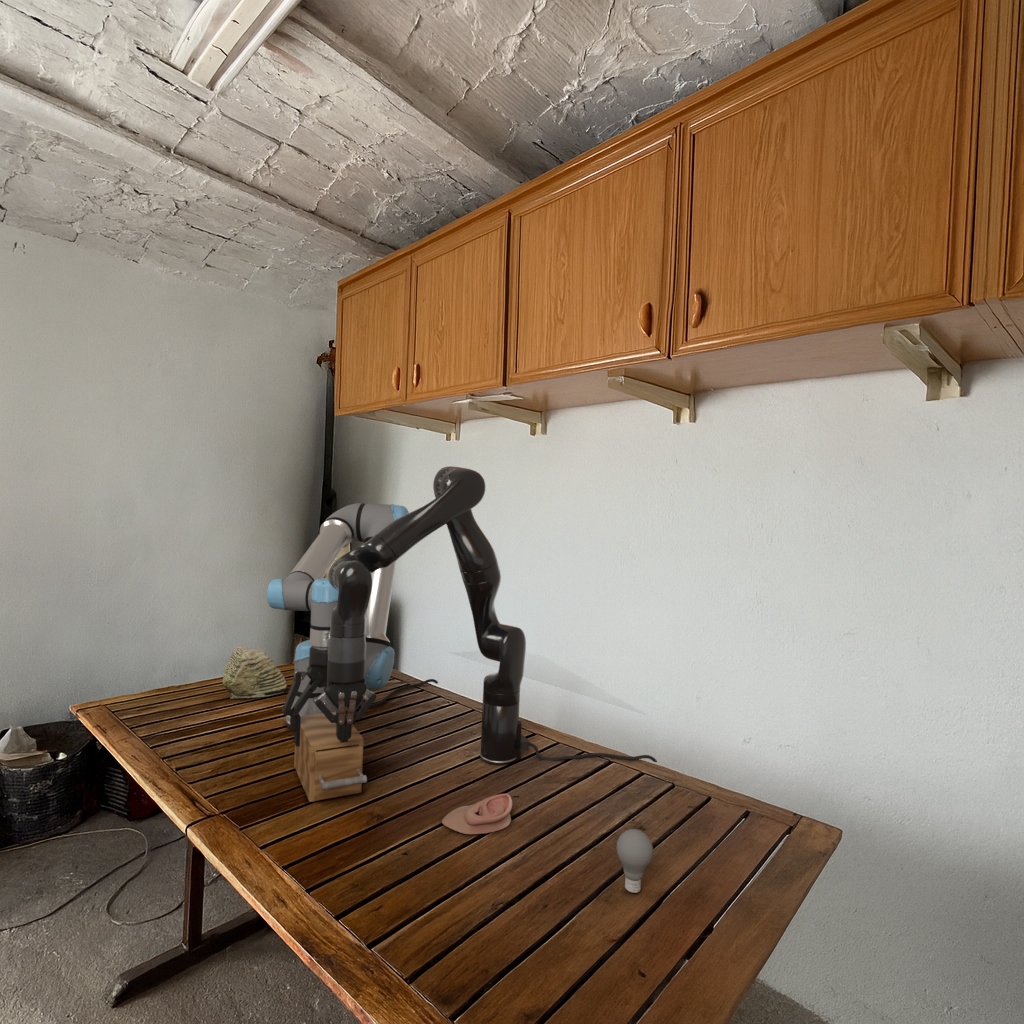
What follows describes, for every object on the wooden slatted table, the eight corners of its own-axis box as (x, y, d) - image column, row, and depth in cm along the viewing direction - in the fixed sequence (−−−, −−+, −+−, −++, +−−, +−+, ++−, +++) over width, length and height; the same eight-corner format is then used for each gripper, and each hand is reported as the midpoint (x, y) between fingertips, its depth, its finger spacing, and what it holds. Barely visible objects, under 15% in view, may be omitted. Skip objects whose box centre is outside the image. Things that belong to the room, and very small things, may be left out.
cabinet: (361, 792, 136) (363, 739, 136) (309, 802, 131) (311, 746, 131) (341, 758, 153) (342, 710, 153) (294, 766, 148) (295, 716, 148)
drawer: (367, 803, 130) (369, 756, 130) (319, 812, 125) (321, 764, 125) (341, 760, 150) (343, 719, 150) (299, 766, 146) (300, 725, 145)
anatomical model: (437, 809, 122) (454, 783, 133) (436, 829, 122) (453, 802, 133) (504, 819, 119) (516, 792, 131) (503, 840, 119) (515, 811, 131)
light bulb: (610, 879, 108) (613, 822, 108) (644, 879, 109) (647, 822, 109) (619, 902, 102) (622, 840, 102) (655, 901, 103) (658, 840, 103)
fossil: (218, 695, 195) (220, 647, 195) (278, 685, 208) (279, 640, 207) (228, 703, 189) (230, 653, 188) (289, 692, 201) (290, 645, 201)
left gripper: (275, 653, 137) (271, 754, 138) (380, 646, 148) (377, 739, 149) (270, 645, 144) (267, 741, 144) (372, 639, 155) (368, 728, 155)
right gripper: (317, 664, 123) (313, 752, 123) (383, 658, 129) (380, 742, 129) (310, 654, 129) (306, 738, 130) (373, 650, 136) (370, 730, 136)
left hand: (322, 740), depth 146 cm, fingers closed on cabinet, 11 cm apart
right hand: (343, 740), depth 130 cm, fingers closed
